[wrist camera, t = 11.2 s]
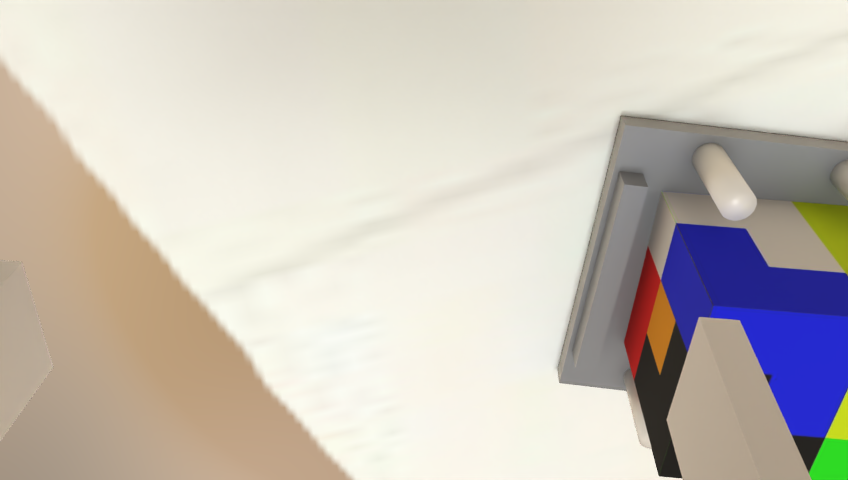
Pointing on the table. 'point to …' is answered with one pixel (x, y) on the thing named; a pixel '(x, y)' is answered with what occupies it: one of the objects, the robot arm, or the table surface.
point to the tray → (635, 212)
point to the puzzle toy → (749, 314)
